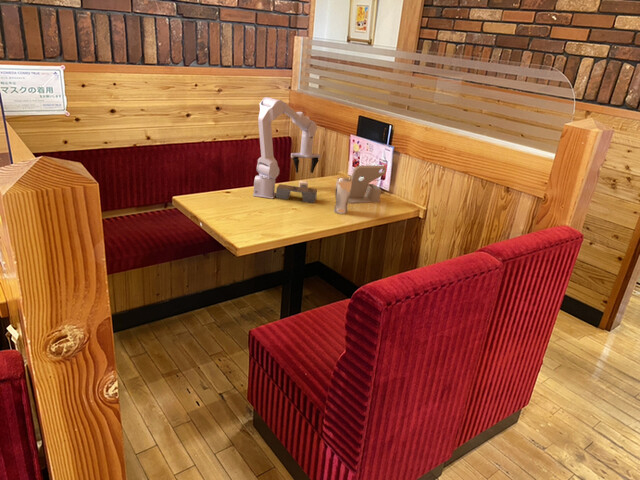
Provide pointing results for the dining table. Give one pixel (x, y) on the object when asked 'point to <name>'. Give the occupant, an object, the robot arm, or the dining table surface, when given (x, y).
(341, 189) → the beer glass
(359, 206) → the dining table surface
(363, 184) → the phone holder
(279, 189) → the block
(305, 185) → the plug
